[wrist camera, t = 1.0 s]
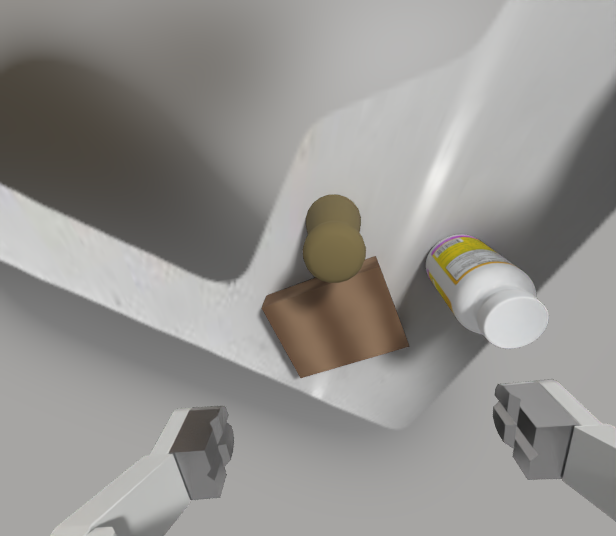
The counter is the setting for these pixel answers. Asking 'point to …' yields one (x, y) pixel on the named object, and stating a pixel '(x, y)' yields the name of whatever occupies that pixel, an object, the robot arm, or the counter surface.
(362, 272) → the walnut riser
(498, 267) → the supplement bottle
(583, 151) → the counter surface
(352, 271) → the cork
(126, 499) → the robot arm
